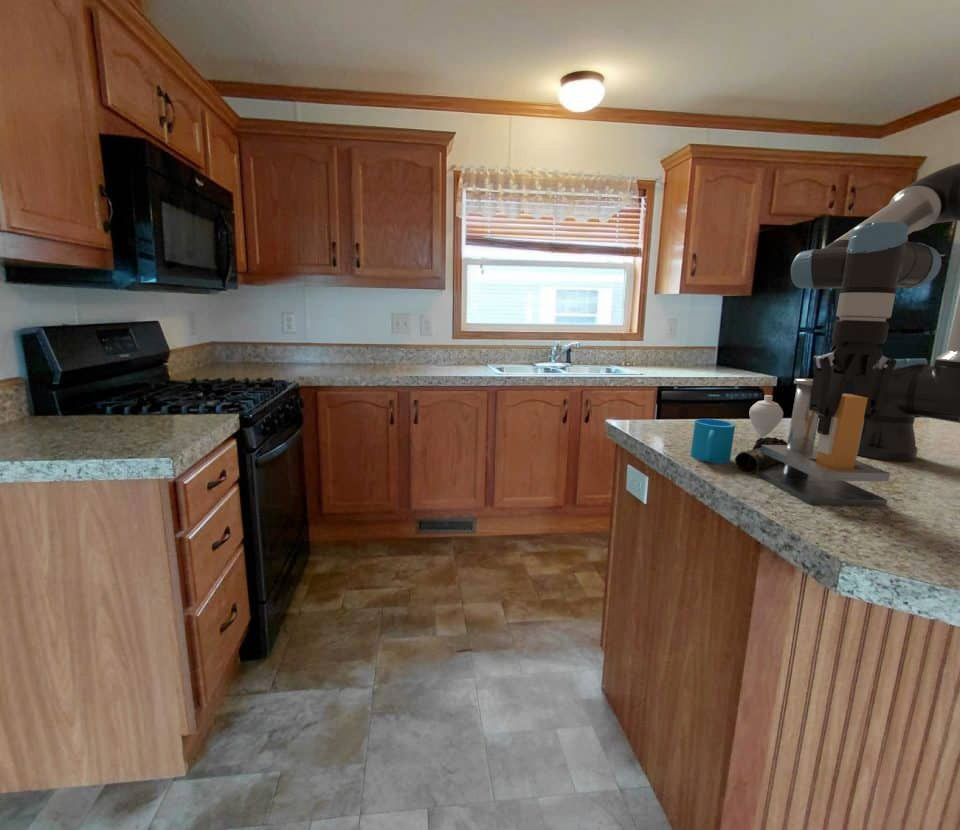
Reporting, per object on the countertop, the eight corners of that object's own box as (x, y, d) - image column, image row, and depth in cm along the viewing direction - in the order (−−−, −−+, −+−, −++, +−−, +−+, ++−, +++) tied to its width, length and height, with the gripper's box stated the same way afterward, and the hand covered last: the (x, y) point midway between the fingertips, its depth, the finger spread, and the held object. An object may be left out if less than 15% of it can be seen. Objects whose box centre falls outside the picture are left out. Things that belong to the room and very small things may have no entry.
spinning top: (785, 444, 129) (793, 397, 127) (760, 444, 128) (767, 398, 125) (763, 436, 137) (770, 392, 134) (738, 437, 135) (745, 392, 132)
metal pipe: (756, 476, 103) (760, 449, 102) (724, 467, 108) (727, 442, 107) (797, 463, 113) (801, 439, 112) (766, 456, 118) (769, 432, 117)
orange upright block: (835, 468, 93) (849, 393, 90) (852, 475, 89) (867, 397, 87) (814, 468, 93) (828, 393, 90) (830, 475, 89) (845, 397, 86)
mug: (692, 451, 120) (696, 417, 118) (730, 456, 116) (735, 422, 114) (686, 463, 109) (690, 426, 108) (728, 470, 105) (733, 432, 104)
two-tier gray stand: (817, 474, 105) (834, 379, 101) (888, 506, 88) (912, 393, 84) (752, 472, 104) (766, 377, 100) (811, 505, 87) (831, 391, 83)
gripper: (891, 321, 90) (865, 448, 95) (798, 317, 89) (777, 446, 94) (930, 322, 83) (900, 459, 87) (829, 318, 82) (805, 457, 86)
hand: (836, 452), depth 90 cm, fingers closed on orange upright block, 4 cm apart
